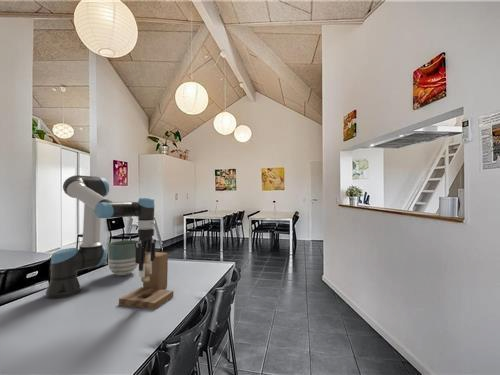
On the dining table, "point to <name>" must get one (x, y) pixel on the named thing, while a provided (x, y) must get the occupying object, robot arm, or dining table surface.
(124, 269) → the planter
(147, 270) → the peg
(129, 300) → the seat board
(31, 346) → the dining table surface
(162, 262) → the wooden block
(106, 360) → the dining table surface
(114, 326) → the dining table surface
